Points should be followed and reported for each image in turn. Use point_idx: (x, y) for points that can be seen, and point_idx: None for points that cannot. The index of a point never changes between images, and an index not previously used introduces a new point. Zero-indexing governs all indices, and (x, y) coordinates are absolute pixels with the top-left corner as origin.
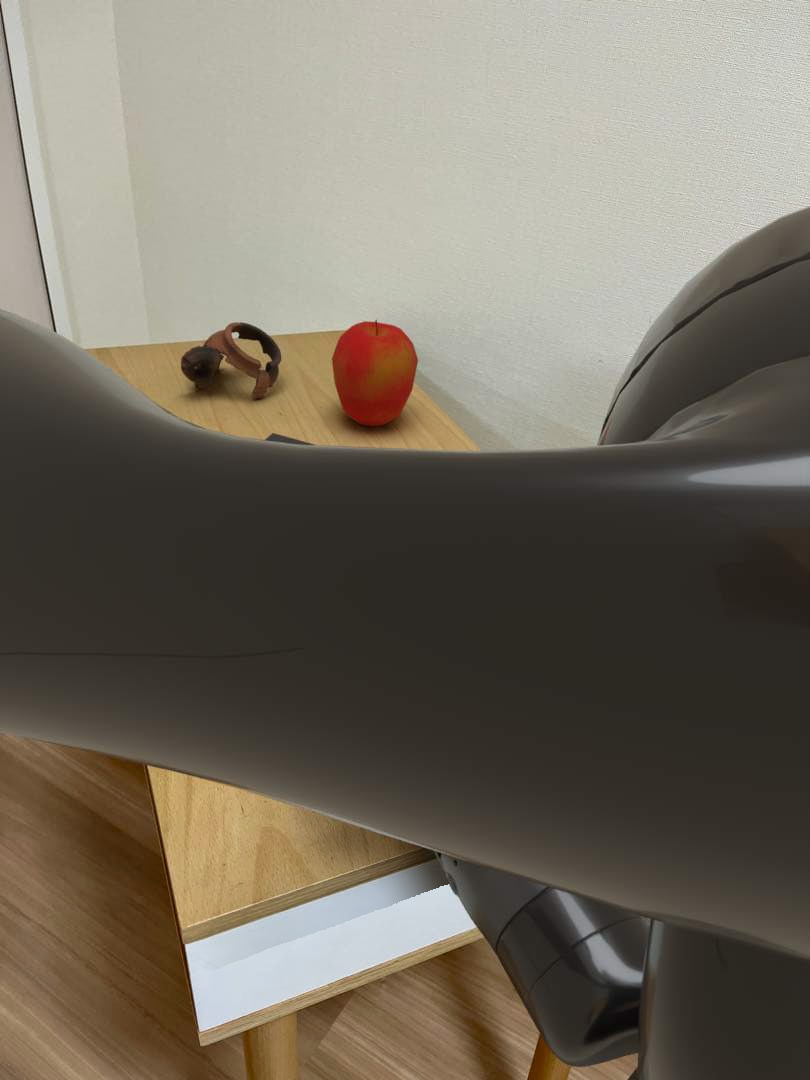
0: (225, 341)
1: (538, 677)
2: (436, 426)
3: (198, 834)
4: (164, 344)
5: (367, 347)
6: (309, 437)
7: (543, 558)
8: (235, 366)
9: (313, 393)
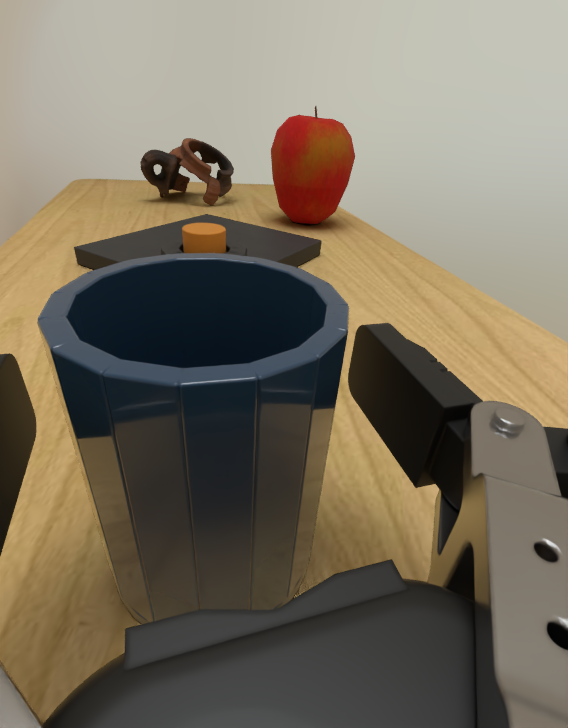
0: (181, 147)
1: None
2: (367, 229)
3: None
4: None
5: (304, 126)
6: None
7: None
8: (188, 169)
9: (259, 207)
